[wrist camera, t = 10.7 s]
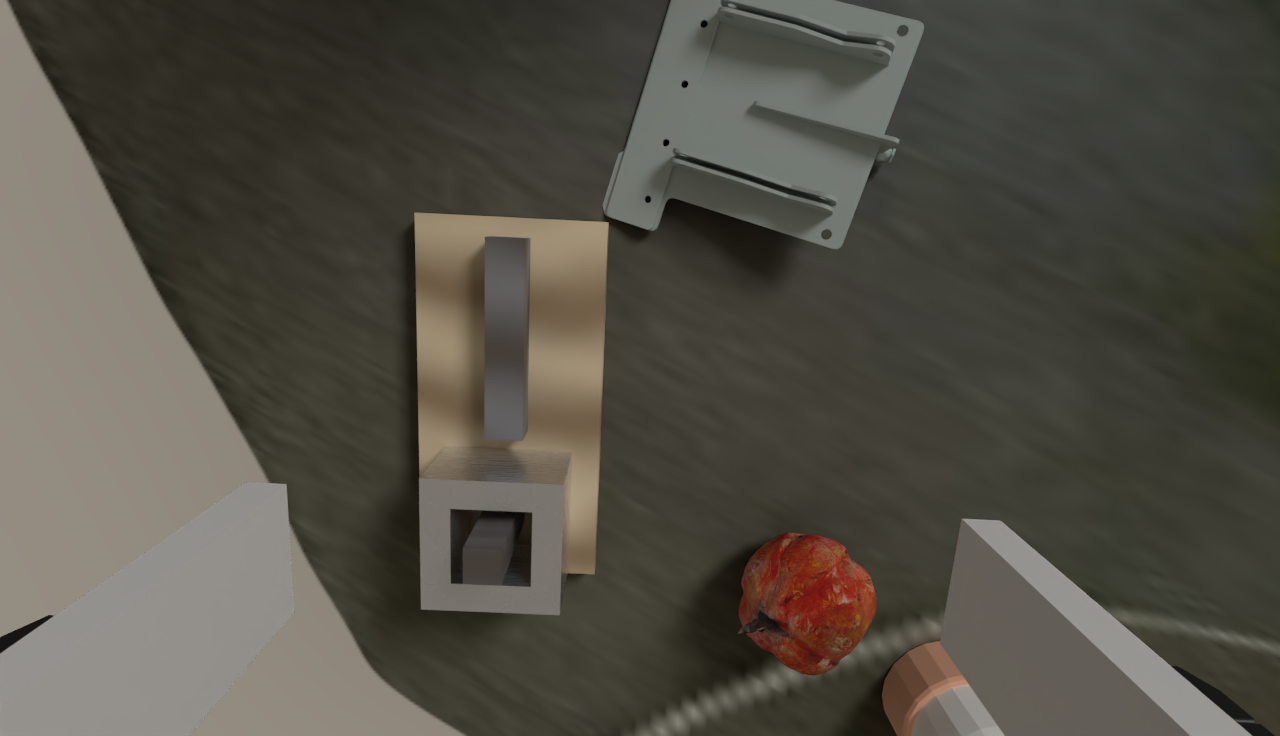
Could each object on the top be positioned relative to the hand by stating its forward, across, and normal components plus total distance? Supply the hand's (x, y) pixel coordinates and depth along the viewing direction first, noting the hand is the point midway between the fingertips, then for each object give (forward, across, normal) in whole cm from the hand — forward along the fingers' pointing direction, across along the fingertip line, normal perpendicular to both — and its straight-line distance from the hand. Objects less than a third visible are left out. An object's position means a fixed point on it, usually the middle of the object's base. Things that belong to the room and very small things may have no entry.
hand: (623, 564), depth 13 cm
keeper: (+25, -6, -4) cm, 27 cm away
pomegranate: (+26, +11, -14) cm, 31 cm away
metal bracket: (+26, +6, +12) cm, 30 cm away
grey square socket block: (+24, -6, -10) cm, 27 cm away
